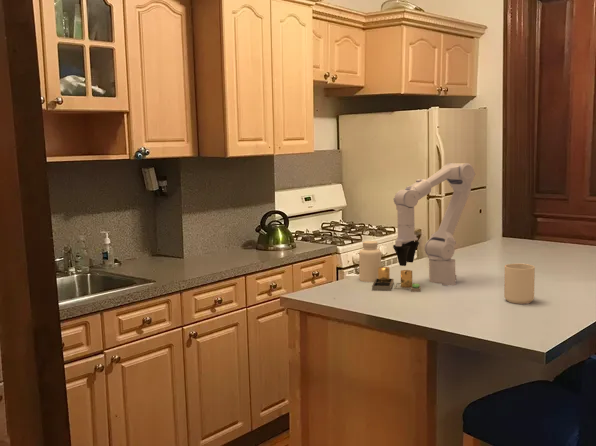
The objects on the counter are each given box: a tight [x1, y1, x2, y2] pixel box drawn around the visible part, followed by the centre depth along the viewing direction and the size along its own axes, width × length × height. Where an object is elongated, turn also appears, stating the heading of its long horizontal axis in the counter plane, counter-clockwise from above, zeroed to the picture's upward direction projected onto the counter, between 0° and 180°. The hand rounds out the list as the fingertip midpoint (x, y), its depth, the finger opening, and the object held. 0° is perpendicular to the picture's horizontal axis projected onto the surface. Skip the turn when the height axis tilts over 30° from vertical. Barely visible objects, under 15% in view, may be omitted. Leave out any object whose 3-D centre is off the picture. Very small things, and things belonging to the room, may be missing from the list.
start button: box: [412, 283, 421, 288], centre depth 214 cm, size 2×2×3 cm
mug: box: [503, 263, 536, 305], centre depth 201 cm, size 12×9×11 cm
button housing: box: [410, 286, 422, 293], centre depth 214 cm, size 3×3×2 cm
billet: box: [400, 269, 413, 288], centre depth 221 cm, size 4×4×6 cm
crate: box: [371, 278, 395, 292], centre depth 222 cm, size 7×12×2 cm, turn 167°
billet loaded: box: [378, 266, 391, 282], centre depth 224 cm, size 4×4×6 cm
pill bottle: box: [358, 240, 382, 283], centre depth 233 cm, size 8×8×15 cm
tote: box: [393, 282, 420, 290], centre depth 221 cm, size 8×8×1 cm
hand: (406, 263), depth 220 cm, fingers open, 6 cm apart
